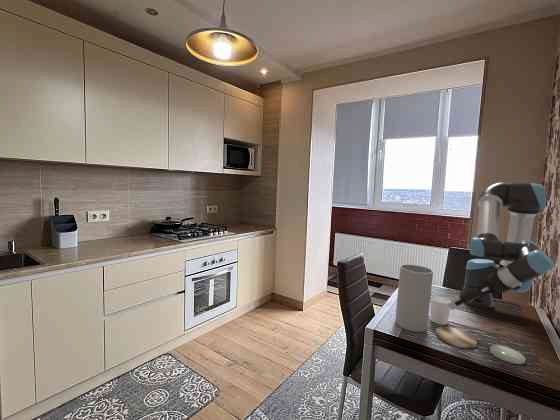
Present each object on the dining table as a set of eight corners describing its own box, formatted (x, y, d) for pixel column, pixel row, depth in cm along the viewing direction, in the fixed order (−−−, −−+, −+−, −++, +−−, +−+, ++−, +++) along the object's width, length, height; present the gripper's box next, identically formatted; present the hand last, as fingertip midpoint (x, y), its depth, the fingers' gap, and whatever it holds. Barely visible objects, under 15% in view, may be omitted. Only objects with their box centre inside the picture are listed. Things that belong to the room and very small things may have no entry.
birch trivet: (452, 327, 122) (452, 324, 122) (485, 345, 109) (485, 342, 109) (427, 331, 117) (427, 328, 117) (458, 350, 104) (459, 347, 104)
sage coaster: (501, 346, 109) (501, 343, 109) (531, 361, 100) (532, 359, 100) (483, 349, 106) (483, 347, 106) (513, 366, 96) (513, 363, 96)
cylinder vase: (411, 317, 130) (416, 263, 127) (434, 331, 118) (440, 272, 116) (388, 320, 126) (393, 264, 123) (409, 334, 114) (415, 274, 112)
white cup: (425, 317, 131) (427, 296, 130) (441, 317, 131) (443, 296, 131) (435, 325, 123) (438, 303, 122) (453, 325, 124) (455, 303, 123)
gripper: (501, 294, 98) (450, 319, 111) (521, 283, 113) (474, 305, 126) (485, 275, 101) (437, 301, 114) (506, 266, 116) (462, 290, 130)
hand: (456, 303), depth 120 cm, fingers open, 13 cm apart
